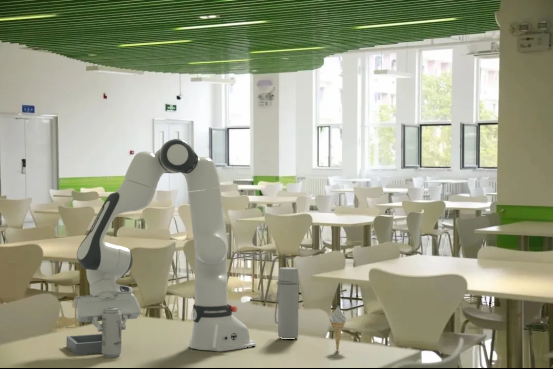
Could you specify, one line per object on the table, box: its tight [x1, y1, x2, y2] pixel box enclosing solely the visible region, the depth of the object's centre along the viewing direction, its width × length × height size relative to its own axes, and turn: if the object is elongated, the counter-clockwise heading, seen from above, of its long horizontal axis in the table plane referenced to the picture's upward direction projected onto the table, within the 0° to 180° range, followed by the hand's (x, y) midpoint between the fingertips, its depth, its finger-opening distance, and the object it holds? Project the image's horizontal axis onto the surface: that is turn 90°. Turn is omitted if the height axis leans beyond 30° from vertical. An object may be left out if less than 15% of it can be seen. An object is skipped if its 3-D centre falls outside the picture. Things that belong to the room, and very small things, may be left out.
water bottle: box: [274, 266, 300, 339], centre depth 285 cm, size 9×8×25 cm
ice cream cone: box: [329, 305, 347, 351], centre depth 264 cm, size 6×6×15 cm
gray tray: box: [66, 333, 102, 356], centre depth 263 cm, size 14×14×4 cm
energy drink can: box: [101, 307, 123, 358], centre depth 253 cm, size 6×6×15 cm
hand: (112, 329), depth 252 cm, fingers closed on energy drink can, 6 cm apart
